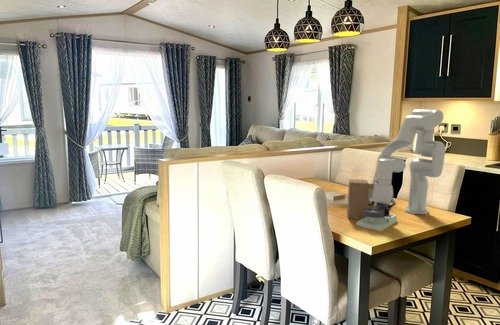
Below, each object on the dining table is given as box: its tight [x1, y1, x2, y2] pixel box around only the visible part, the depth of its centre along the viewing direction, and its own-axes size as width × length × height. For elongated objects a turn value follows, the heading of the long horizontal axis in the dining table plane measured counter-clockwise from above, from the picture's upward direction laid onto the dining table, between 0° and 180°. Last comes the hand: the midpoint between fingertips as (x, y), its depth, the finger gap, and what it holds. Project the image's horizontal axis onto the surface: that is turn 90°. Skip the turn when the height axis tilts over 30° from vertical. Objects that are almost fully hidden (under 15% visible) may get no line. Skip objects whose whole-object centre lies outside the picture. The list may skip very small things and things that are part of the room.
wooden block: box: [346, 178, 370, 219], centre depth 216 cm, size 10×10×20 cm
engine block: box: [375, 203, 386, 218], centre depth 207 cm, size 6×5×7 cm
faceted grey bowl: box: [363, 207, 383, 218], centre depth 198 cm, size 9×9×2 cm
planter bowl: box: [367, 182, 375, 205], centre depth 245 cm, size 16×16×11 cm
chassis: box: [356, 211, 398, 232], centre depth 203 cm, size 22×13×8 cm, turn 139°
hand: (381, 214), depth 207 cm, fingers closed on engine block, 5 cm apart
